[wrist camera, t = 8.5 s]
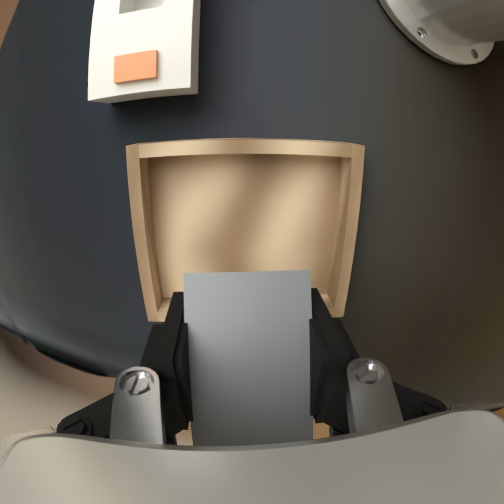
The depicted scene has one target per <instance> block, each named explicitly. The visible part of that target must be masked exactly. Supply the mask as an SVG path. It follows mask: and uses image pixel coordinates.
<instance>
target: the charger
mask: <svg viewBox="0 0 504 504" xmlns="http://www.w3.org/2000/svg"><path fill="white" fill-rule="evenodd" d="M183 285H184V323H188V348H189V368H190V384H191V399H192V411H193V422H192V421H191V430H192V439H193V446H246V445H264V444H277V443H288V442H297V441H305V440H313V416H310V335H309V319H312V303H311V281H310V270H289V271H256V272H216V273H183Z"/></svg>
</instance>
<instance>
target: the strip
mask: <svg viewBox="0 0 504 504" xmlns="http://www.w3.org/2000/svg"><path fill="white" fill-rule="evenodd" d="M200 4H201V0H95V4H94V11H93V19H92V29H91V39H90V53H89V73H88V101H95V102H104V103H116V102H122V101H129V100H137V99H145V98H154V97H164V96H175V95H189V94H198V61H199V26H200Z"/></svg>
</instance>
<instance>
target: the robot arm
mask: <svg viewBox="0 0 504 504" xmlns="http://www.w3.org/2000/svg"><path fill="white" fill-rule="evenodd" d="M379 2H380V3H381V5H382V6H383V8H384V10H385V11H386V13H387V14H388V16H389V17H390V18H391V19H392V21H393V22H394V23H395V24H396V26H397V27H398V28H399V29H400V30H401V31H402V32H403V33H404V34H405V35H406V36H407V37H408V38H409V39H410V40H411V41H412V42H414V43H415V44H416V45H417V46H418V47H420V48H421V49H422V50H424V51H425V52H427V53H429V54H430V55H432V56H433V57H435V58H437V59H440V60H442V61H444V62H447V63H451V64H454V65H469V64H476V63H478V62H481V61H483V60H484V59H485V58H486V57H487V56H488V55H489V54H490V52H491V50H492V49H493V46H494V42H496V41H503V40H504V0H379ZM311 303H312V319H309V335H310V416H314V419H315V423H323V422H324V423H325V424H327V425H329V426H330V427H329V434H330V437H327V438H321V439H313V440H305V441H297V442H288V443H277V444H264V445H246V446H184V445H177V440H176V434H177V433H179V432H180V431H181V430H188V423H189V421H192V422H193V411H192V399H191V384H190V368H189V348H188V323H184V292H173V295H172V298H171V301H170V305H169V308H168V311H167V315H166V318H165V322H164V324H154V325H153V326H152V329H151V332H150V335H149V338H148V341H147V344H146V347H145V350H144V353H143V357H142V360H141V363H140V366H139V367H132V368H129V369H126V370H124V371H123V372H121V373H120V374H119V375H118V377H117V378H116V380H115V384H114V393H112V394H110V395H108V396H106V397H104V398H102V399H100V400H98V401H96V402H94V403H92V404H91V405H89V406H87V407H85V408H83V409H81V410H79V411H77V412H75V413H73V414H71V415H69V416H67V417H65V418H64V419H62V421H61V422H60V423H59V424H58V427H57V428H55V429H53V428H52V427H51V426H49V427H45V428H41V429H38V430H34V431H30V432H25V433H21V434H17V435H13V436H9V437H6V438H4V439H3V440H2V441H1V442H0V504H504V420H503V419H502V418H500V417H499V416H498V415H497V414H495V413H494V412H491V411H489V410H484V409H466V408H460V407H454V406H451V407H450V408H449V409H447V408H446V406H445V404H443V403H442V402H441V401H440V400H438V399H436V398H434V397H431V396H428V395H425V394H423V393H420V392H418V391H415V390H412V389H410V388H407V387H405V386H402V385H400V384H397V383H395V382H392V380H391V377H390V374H389V371H388V369H387V367H386V366H385V365H384V364H383V363H382V362H380V361H378V360H376V359H373V358H367V357H363V358H360V357H359V355H358V353H357V351H356V349H355V347H354V345H353V343H352V342H351V340H350V338H349V336H348V334H347V332H346V330H345V328H344V326H343V325H342V323H341V321H340V320H339V319H338V318H335V319H333V318H332V316H331V314H330V312H329V310H328V308H327V306H326V304H325V302H324V301H323V299H322V297H321V295H320V293H319V291H318V289H317V288H311Z"/></svg>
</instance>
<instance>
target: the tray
mask: <svg viewBox="0 0 504 504" xmlns="http://www.w3.org/2000/svg"><path fill="white" fill-rule="evenodd" d="M364 151H365V146H363V145H358V144H353V143H346V142H334V141H321V140H303V139H278V138H214V139H188V140H171V141H157V142H145V143H137V144H133V145H128V146H126V157H127V173H128V185H129V196H130V207H131V216H132V224H133V232H134V240H135V247H136V254H137V261H138V267H139V274H140V280H141V285H142V291H143V296H144V302H145V307H146V312H147V317H148V321H160V322H165V318H166V315H167V311H168V308H169V305H170V301H171V298H172V295H173V292H184V285H183V273H216V272H256V271H289V270H310V281H311V288H317V289H318V291H319V293H320V295H321V297H322V299H323V301H324V302H325V304H326V306H327V308H328V310H329V312H330V314H331V316H332V318H333V317H343V315H344V309H345V304H346V299H347V293H348V287H349V281H350V275H351V269H352V263H353V256H354V249H355V242H356V234H357V226H358V218H359V209H360V200H361V189H362V178H363V165H364Z"/></svg>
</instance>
